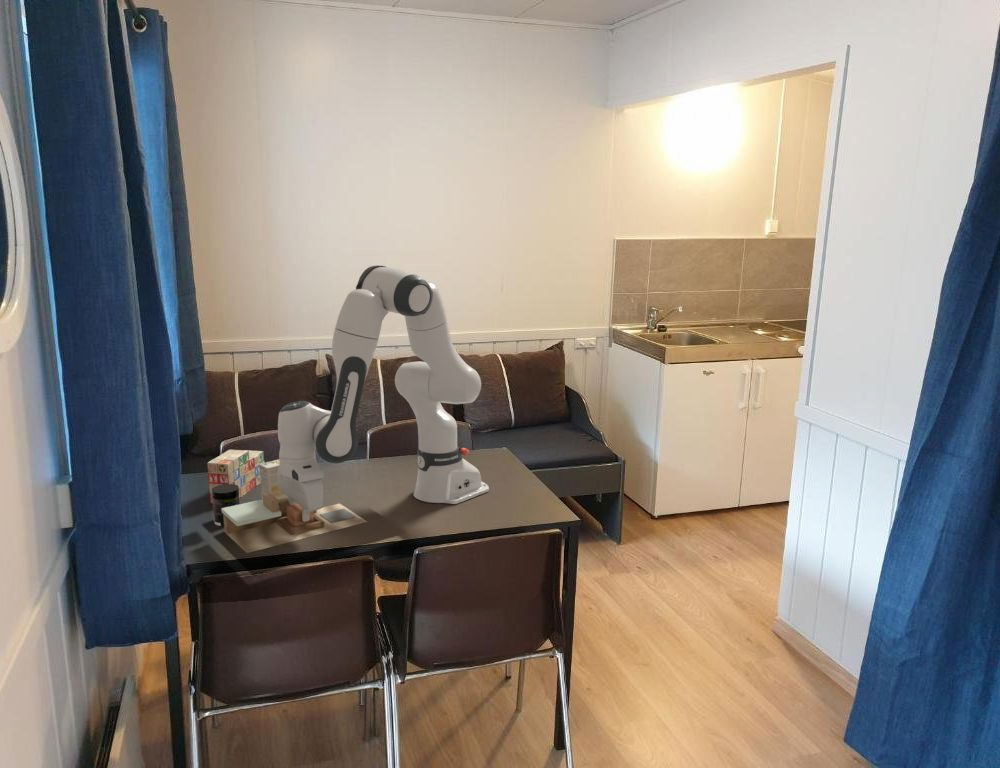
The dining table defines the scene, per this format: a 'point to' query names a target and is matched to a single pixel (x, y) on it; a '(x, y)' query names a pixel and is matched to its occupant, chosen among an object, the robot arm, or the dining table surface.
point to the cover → (253, 510)
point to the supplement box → (270, 479)
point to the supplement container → (224, 500)
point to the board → (289, 527)
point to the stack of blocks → (236, 470)
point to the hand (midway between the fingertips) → (300, 516)
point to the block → (297, 516)
